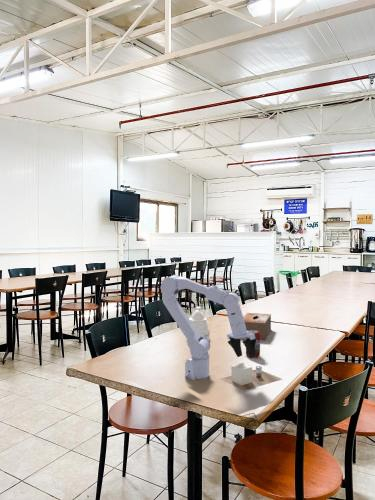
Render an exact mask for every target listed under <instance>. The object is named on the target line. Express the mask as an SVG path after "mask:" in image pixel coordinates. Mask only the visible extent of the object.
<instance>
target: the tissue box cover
mask: <svg viewBox="0 0 375 500" xmlns="http://www.w3.org/2000/svg"><path fill="white" fill-rule="evenodd" d="M243 319H244V322H245V326H246V330H247V331H248V330H257V331H259V334H260V341H262V342H263V341H266V339H267V338H268V336H269V335H270V332H271V330H272V313H257V312H256V313H255V312H246V314H245V315H243Z"/></svg>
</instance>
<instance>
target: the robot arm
mask: <svg viewBox="0 0 375 500" xmlns="http://www.w3.org/2000/svg"><path fill="white" fill-rule="evenodd" d="M185 289H187V290H190V291H191V292H192V291H193V292H195V293H199V294H202V295H204V296H205V298H206V299H207V300H208V301H211V302H214V303H217V304H219V305H223V307H224V308H225V310H226V313H227V318H228V322H229V325H230V330H231V332H230V333H228V334H226V337H227V339H228V341H227V343H228V345H229V346H231V347H230V348H232V350H233V351H234V353H235V356H236V357H237V358H239V357H242V356H243V351H242V350H243V349H242V345H241V342H242V344H243V346H245V350H246V349H247V351H248V354H249V356H248V358H249V359H252V358H256V357H255V344H256V340H257V339H256V338H255V335H254V333H249V331H247V330H246V326H245V322H244V319H243V317H244V315H243V312H242V311H243V310H242V309H241V304H240V297H239V295H238V294H237V293H236V292H234V291H231V292H230V291H229V290H227V289H226V290H224V289H222V288H219V286H218V285H217V284H215V285H210V286H205V285H204V284H202V283H199V282H196V281H194V280H192V279H189V278H187V277H185V276H182V275H181V276H180V275H178V274H173V275H171V276H166V277H165V278H163V279H162V280H161V285H160V290H161V293H162V294H161V297H162V303H163V305H164V306H165V307H166V309H167V311H168V312H169V314H170V316H171V317H172V319H173V320H174V321H175V323H176V324H177V326H178V328H179V329H180V330H181V332H182V334H183V335H184V336H185V339H186V343H187V346H188V348H189V352H190V355H191V357H190V358H188V359H186V360H185V362H184V363H185V364H184V368H185V369H184V371H185V372H184V373H185V374H184V376H185V377H187V378H188V379H191V380H193V381H194V380H199V379H206V378H208V377H209V376H210V355H209V351H210V348H211V343H210V340H209V341H208V340H207V339H206V338H204V337H203V336H202V334H201V333H199V332H198V331H197V330H196V329H195V327H194V326H193V324H192V323H191V321H190V320H189V318H190V317H189V316H188V315H187V313H186V312H185V311H184V308H182V306H181V304H180V303H179V302H178V300H177V299H178V294H179V292H180V290H185ZM241 340H243V341H241Z"/></svg>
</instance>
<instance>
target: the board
mask: <svg viewBox="0 0 375 500" xmlns="http://www.w3.org/2000/svg"><path fill="white" fill-rule="evenodd" d="M220 380H222V381H224V382H225V383H228V384H230V385H232V386H234V387H236V388H237V389H241V390H242V391H247V390H251V389H253V388H258V387H261V386H264V385H267V384H271V383H274V382H278V381H282V378H281V377H279V376H276V375H274V374H271V373H270V372H269V373H268V372H266V371H263V370H262V377H261V378H257V377H256V369H252V382H251V383H248V384H244V385H239V384H237V383H235V382H233V381H232V375H230V376H226V377H223V378H220Z"/></svg>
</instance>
